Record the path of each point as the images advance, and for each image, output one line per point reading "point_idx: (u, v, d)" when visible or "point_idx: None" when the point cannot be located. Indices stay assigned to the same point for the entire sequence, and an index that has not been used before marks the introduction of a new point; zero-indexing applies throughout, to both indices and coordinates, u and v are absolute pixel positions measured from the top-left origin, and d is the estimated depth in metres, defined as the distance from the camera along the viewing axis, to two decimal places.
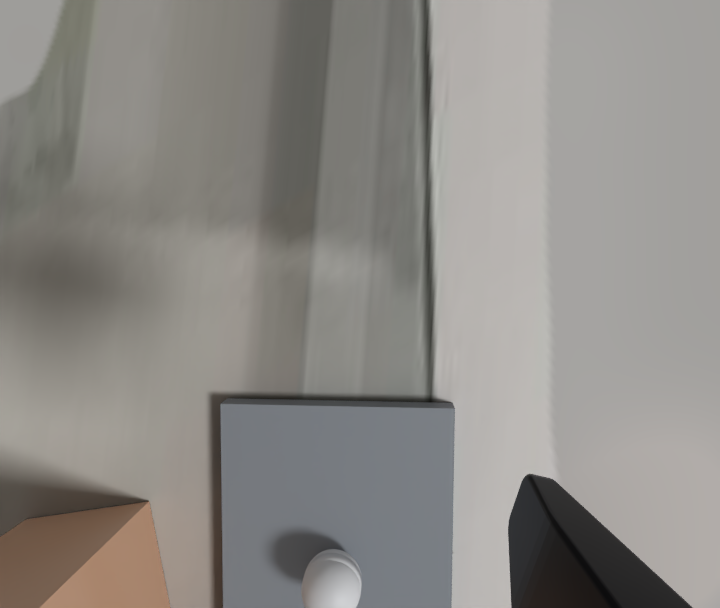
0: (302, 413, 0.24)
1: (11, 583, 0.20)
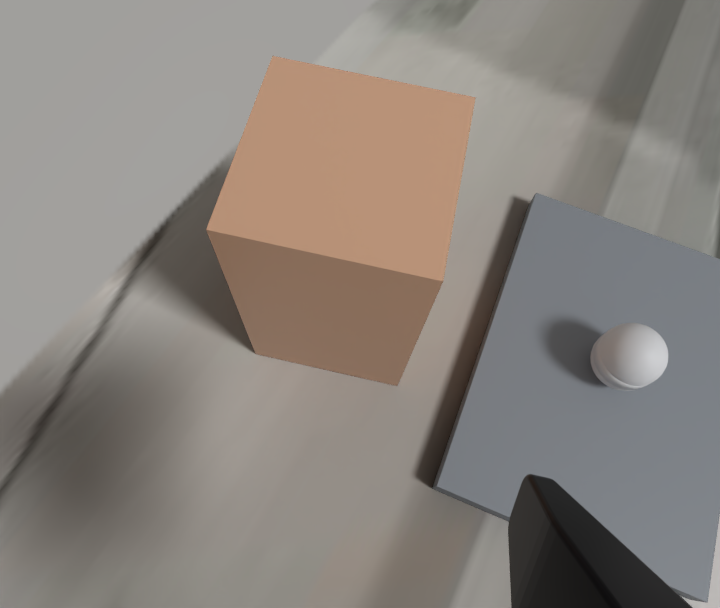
0: (609, 225, 0.25)
1: None
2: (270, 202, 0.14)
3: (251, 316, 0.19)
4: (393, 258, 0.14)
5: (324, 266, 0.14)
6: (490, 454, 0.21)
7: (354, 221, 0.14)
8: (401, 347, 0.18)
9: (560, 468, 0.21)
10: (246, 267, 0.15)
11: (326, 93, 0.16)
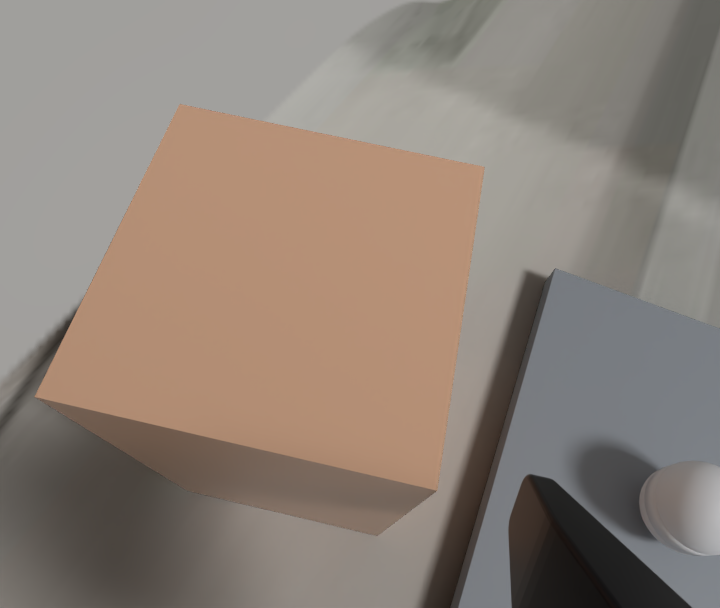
0: (650, 311, 0.20)
1: None
2: (150, 345, 0.09)
3: (162, 469, 0.13)
4: (353, 446, 0.08)
5: (240, 452, 0.09)
6: None
7: (289, 378, 0.08)
8: (378, 519, 0.13)
9: None
10: (123, 435, 0.10)
11: (257, 161, 0.10)
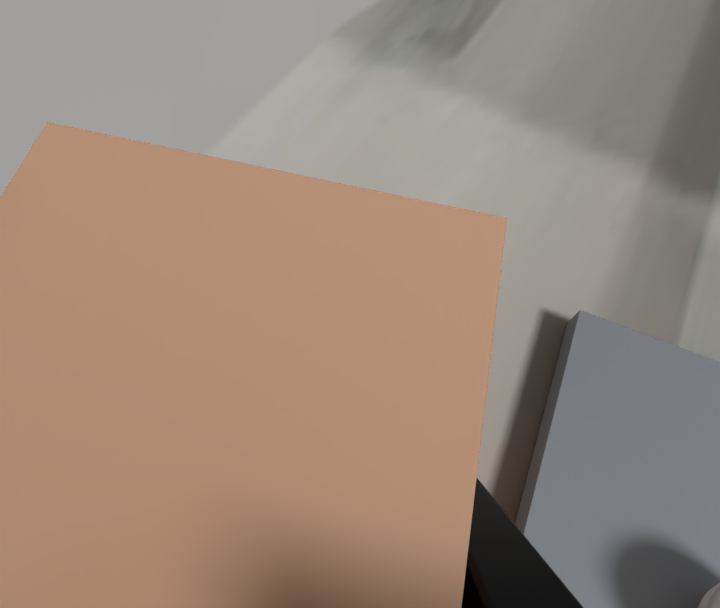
0: (697, 364, 0.16)
1: None
2: None
3: None
4: None
5: None
6: None
7: (176, 607, 0.05)
8: None
9: None
10: None
11: (156, 211, 0.07)
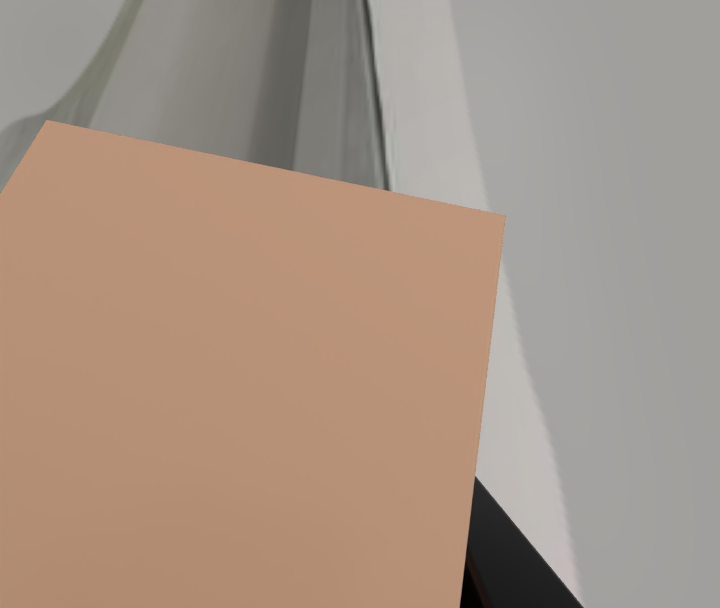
0: None
1: None
2: None
3: None
4: None
5: None
6: None
7: (175, 603, 0.05)
8: None
9: None
10: None
11: (156, 209, 0.07)
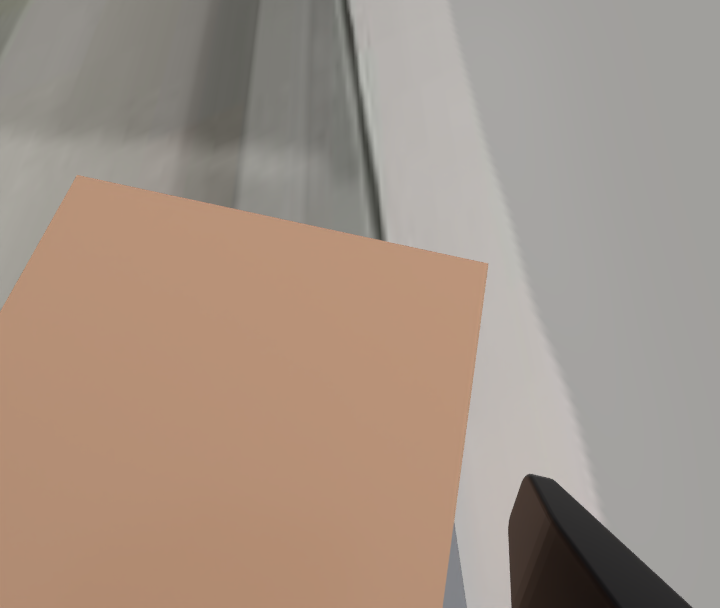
0: None
1: None
2: None
3: None
4: None
5: None
6: None
7: None
8: None
9: None
10: None
11: (176, 258, 0.07)
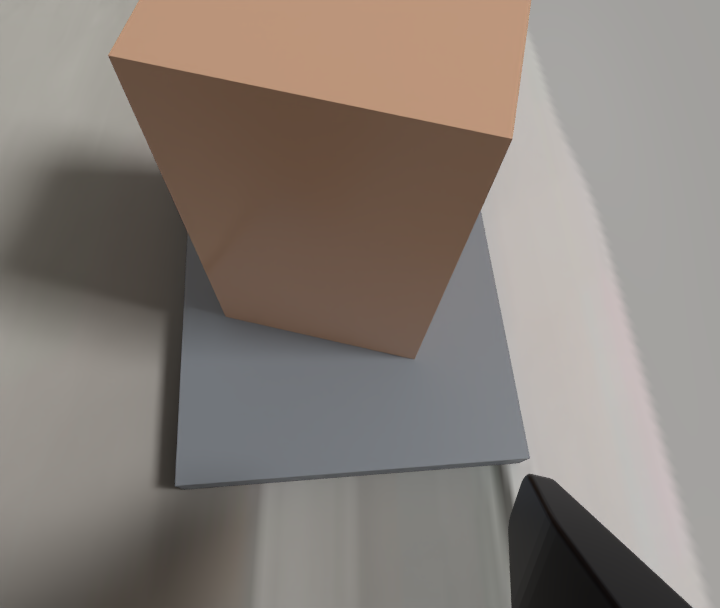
0: None
1: None
2: (220, 19, 0.09)
3: (210, 248, 0.13)
4: (426, 102, 0.08)
5: (310, 125, 0.09)
6: (231, 414, 0.16)
7: (359, 48, 0.08)
8: (426, 291, 0.13)
9: (320, 390, 0.16)
10: (186, 143, 0.10)
11: None
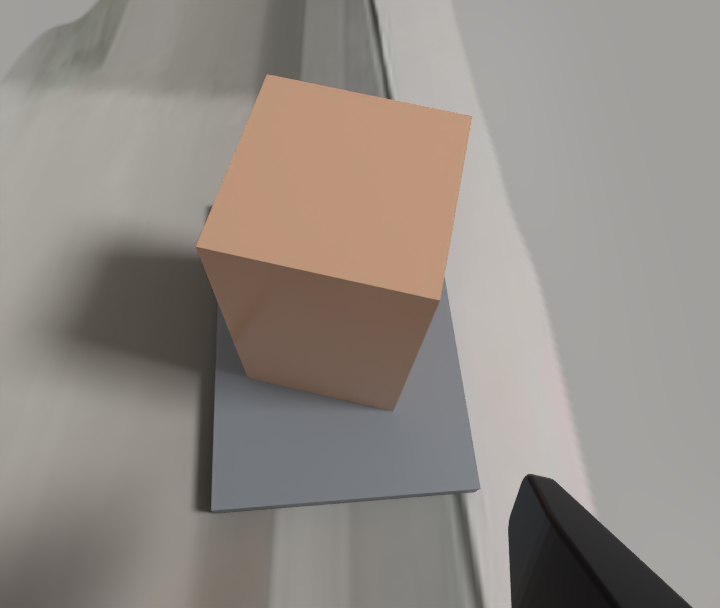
0: None
1: None
2: (262, 219, 0.14)
3: (243, 338, 0.18)
4: (389, 276, 0.13)
5: (318, 285, 0.14)
6: (253, 455, 0.21)
7: (348, 239, 0.14)
8: (397, 370, 0.18)
9: (321, 436, 0.21)
10: (236, 286, 0.15)
11: (321, 111, 0.15)
